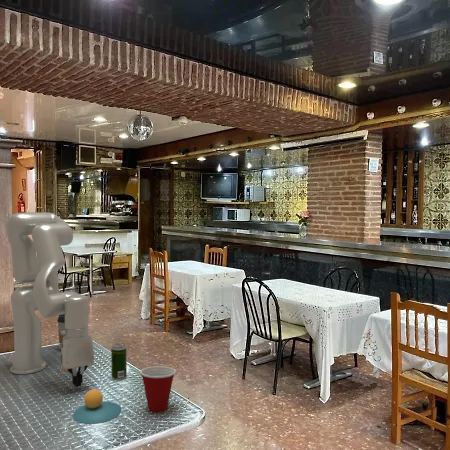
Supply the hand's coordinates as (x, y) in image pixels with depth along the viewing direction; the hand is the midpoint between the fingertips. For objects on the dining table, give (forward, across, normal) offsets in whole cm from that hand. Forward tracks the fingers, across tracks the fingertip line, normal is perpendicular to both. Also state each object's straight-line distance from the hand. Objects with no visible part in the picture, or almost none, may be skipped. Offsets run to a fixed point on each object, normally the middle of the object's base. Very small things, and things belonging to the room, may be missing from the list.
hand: (77, 385), depth 146 cm
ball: (-1, 0, -16) cm, 16 cm away
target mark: (+2, 0, -20) cm, 20 cm away
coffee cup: (+2, +10, +45) cm, 46 cm away
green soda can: (+2, +16, +2) cm, 16 cm away
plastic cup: (+2, +16, -28) cm, 32 cm away
